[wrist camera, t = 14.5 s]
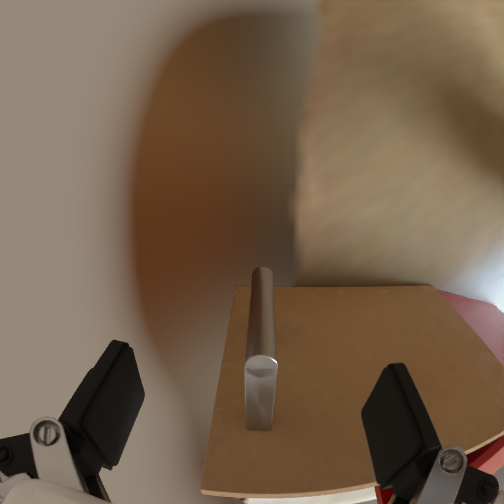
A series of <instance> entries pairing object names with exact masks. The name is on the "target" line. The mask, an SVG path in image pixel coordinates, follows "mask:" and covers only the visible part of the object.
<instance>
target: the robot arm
mask: <svg viewBox="0 0 504 504" xmlns="http://www.w3.org/2000/svg"><path fill="white" fill-rule="evenodd" d="M144 396H145V392H144V389H143V386H142V382H141V378H140V375H139V371H138V367H137V364H136V360H135V356H134V352H133V349H132V348H131V347H129V344H128V343H126V342H122V341H117V340H112V341H111V342H110V344H109V345H108V347H107V348H106V350H105V351H104V353H103V354H102V356H101V357H100V359H99V360H98V362H97V363H96V365H95V366H94V368H92V369H90V370H89V371H88V373H87V374H86V376H85V378H84V379H83V381H82V382H81V384H80V385H79V387H78V388H77V390H76V392H75V393H74V395H73V396H72V398H71V399H70V401H69V403H68V404H67V406H66V408H65V409H64V411H63V412H62V414H61V416H60V417H59V419H58V420H57V419H55V418H52V417H41V418H39V419H37V420H36V421H35V422H34V423H33V424H32V426H31V429H30V433H26V434H22V435H17V436H13V437H8V438H3V439H0V504H112V503H111V501H110V499H109V497H108V494H107V492H106V490H105V488H104V486H103V484H102V481H101V479H100V476H99V472H100V470H101V467H103V468H106V469H108V470H112V467H113V466H116V465H117V464H118V462H119V460H120V457H121V455H122V452H123V450H124V447H125V445H126V442H127V440H128V437H129V435H130V432H131V430H132V427H133V425H134V422H135V420H136V417H137V415H138V413H139V410H140V408H141V406H142V403H143V401H144ZM361 418H362V422H363V426H364V430H365V434H366V438H367V442H368V446H369V451H370V455H371V459H372V464H373V468H374V473H375V478H376V482H377V484H378V485H381V490H383V489H387V488H392V487H393V491H394V494H393V496H392V498H391V499H390V501H389V503H388V504H504V491H503V490H500V491H498V490H499V484H498V481H497V479H496V478H495V477H494V476H493V475H491V474H488V473H486V472H484V471H481V470H479V469H476V468H474V467H472V466H470V465H467V457H466V454H465V452H464V451H463V450H462V449H461V448H459V447H457V446H453V445H450V446H446V447H444V448H442V446H441V443H440V440H439V438H438V435H437V433H436V431H435V428H434V426H433V423H432V421H431V419H430V417H429V414H428V412H427V410H426V407H425V405H424V403H423V401H422V399H421V396H420V394H419V392H418V390H417V388H416V386H415V384H414V382H413V380H412V378H411V375H410V373H409V371H408V369H407V367H406V365H405V364H404V363H390V364H388V365H387V367H385V368H384V369H383V370H382V372H381V374H380V376H379V378H378V380H377V382H376V384H375V386H374V388H373V390H372V392H371V394H370V396H369V397H368V399H367V401H366V403H365V405H364V406H363V408H362V411H361Z"/></svg>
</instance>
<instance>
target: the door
mask: <svg viewBox="0 0 504 504" xmlns="http://www.w3.org/2000/svg"><path fill="white" fill-rule="evenodd" d="M390 363H404V364H405V365H406V367H407V369H408V371H409V373H410V375H411V378H412V380H413V382H414V384H415V386H416V388H417V390H418V392H419V394H420V396H421V399H422V401H423V403H424V405H425V407H426V410H427V412H428V414H429V417H430V419H431V421H432V423H433V426H434V428H435V431H436V433H437V435H438V438H439V440H440V443H441V446H442V448H444V447H446V446H450V445H453V446H457V447H459V448H461V449H462V450H463V451H464V452H465V454H466V455H467V454H469V453H471V452H473V451H475V450H477V449H479V448H481V447H483V446H484V445H486V444H488V443H490V442H492V441H494V440H495V439H497V438H499V437H500V436H502V435H504V366H503V365H502V364H501V362H500V361H499V360H498V359H497V357H496V356H495V355H494V354H493V352H492V351H491V350H490V349H489V347H488V346H487V345H486V344H485V343H484V341H483V340H482V339H481V338H480V337H479V336H478V334H477V333H476V332H475V331H474V330H473V329H472V328H471V326H470V325H469V324H468V323H467V322H466V321H465V320H464V319H463V317H462V316H461V315H460V314H459V313H458V312H457V311H456V310H455V309H454V308H453V307H452V306H451V305H450V303H449V302H448V301H447V300H446V299H445V298H444V297H443V296H442V295H441V294H440V293H439V292H438V291H437V290H436V289H435V288H434V287H433V286H432V285H418V286H376V287H282V286H274V285H273V273H272V271H271V270H270V269H269V268H267V267H258V268H256V269H255V270H254V272H253V274H252V285H251V286H239V285H238V286H236V290H235V295H234V300H233V306H232V311H231V316H230V322H229V327H228V332H227V338H226V343H225V349H224V355H223V360H222V366H221V371H220V376H219V382H218V388H217V393H216V399H215V405H214V411H213V417H212V422H211V427H210V433H209V439H208V445H207V451H206V457H205V462H204V468H203V474H202V480H201V487H200V490H201V492H202V494H207V495H215V496H225V497H239V498H296V497H310V496H320V495H328V494H336V493H342V492H349V491H354V490H360V489H364V488H369V487H374V486H378V484H377V482H376V478H375V473H374V468H373V464H372V459H371V455H370V451H369V446H368V442H367V438H366V434H365V430H364V426H363V422H362V418H361V411H362V408H363V406H364V405H365V403H366V401H367V399H368V397H369V396H370V394H371V392H372V390H373V388H374V386H375V384H376V382H377V380H378V378H379V376H380V374H381V372H382V370H383V369H384V368H385V367H387V365H388V364H390Z"/></svg>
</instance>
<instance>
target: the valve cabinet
mask: <svg viewBox="0 0 504 504" xmlns="http://www.w3.org/2000/svg"><path fill="white" fill-rule="evenodd" d="M436 290H437V289H436ZM437 291H438V292H439V293H440V294H441V295H442V296H443V297H444V298H445V299H446V300H447V301H448V302H449V303H450V305H451V306H452V307H453V308H454V309H455V310H456V311H457V312H458V313H459V314H460V315H461V316H462V317H463V319H464V320H465V321H466V322H467V323H468V324H469V325H470V326H471V328H472V329H473V330H474V331H475V332H476V333H477V334H478V336H479V337H480V338H481V339H482V340H483V341H484V343H485V344H486V345H487V346H488V347H489V349H490V350H491V351H492V352H493V354H494V355H495V356H496V357H497V359H498V360H499V361H500V362H501V364H502V365H503V366H504V314H503V313H502V312H501V311H500V310H499V309H498V308H497V307H496V306H494V305H491V304H487V303H484V302H480V301H477V300H473V299H469V298H466V297H462V296H459V295H455V294H451V293H448V292H444V291H440V290H437ZM466 457H467V465H470V466H472V467H474V468H476V469H479V470H481V471H484V472H486V473H488V474H491V475H492V474H493V473H495V472H496V471H497V470H498V469H499V468H500V467H502V466H503V465H504V435H502V436H500V437H499V438H497V439H495V440H494V441H492V442H490V443H488V444H486V445H484V446H483V447H481V448H479V449H477V450H475V451H473V452H471V453H469V454H467V455H466ZM374 487H375V492H376V497H377V502H378V504H388V503H389V501H390V499H391V498H392V496H393V494H394V491H393V487H392V488H387V489H383V490H381V485H378V486H374Z"/></svg>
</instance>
